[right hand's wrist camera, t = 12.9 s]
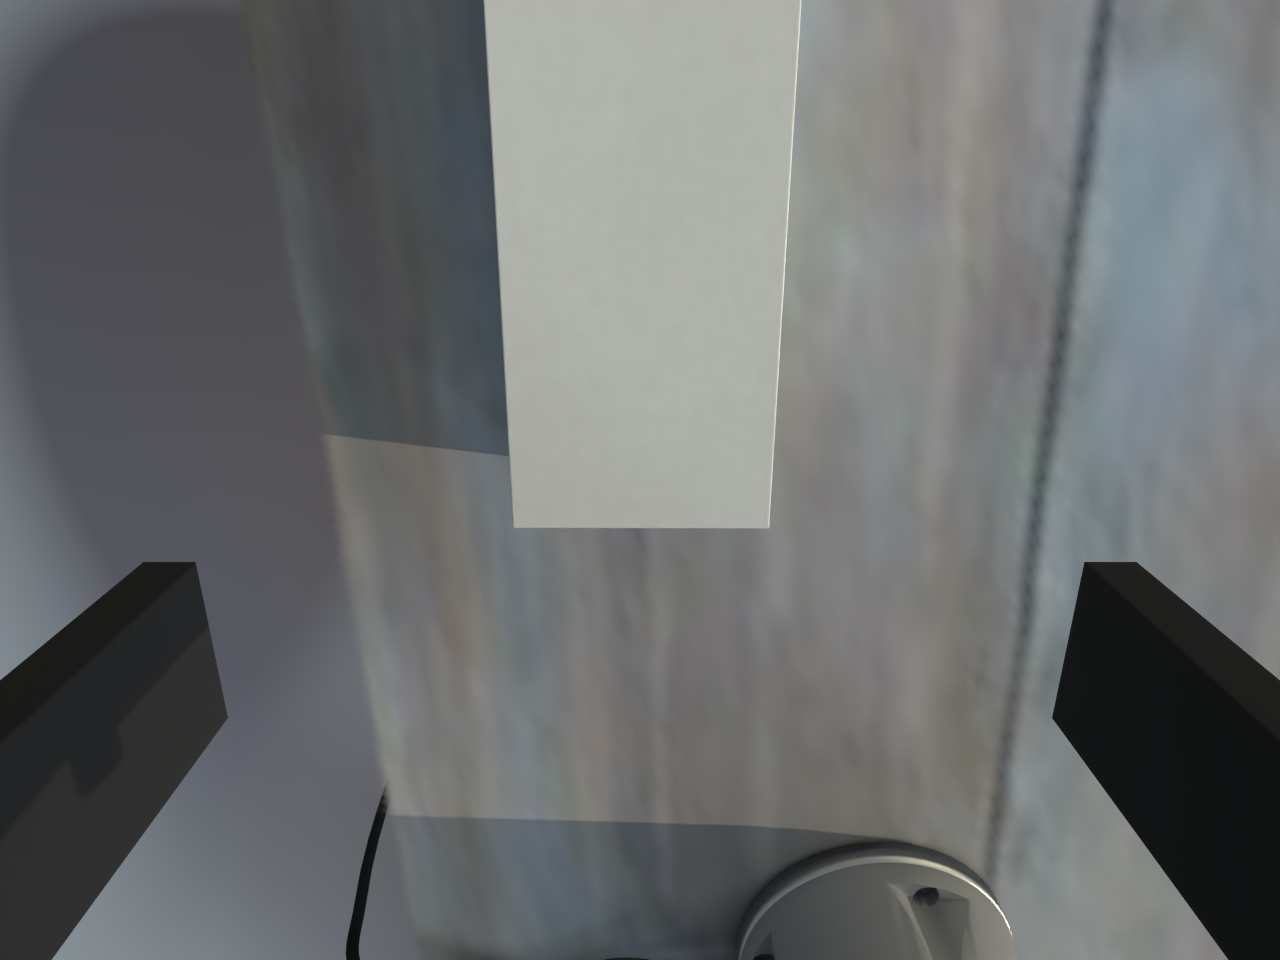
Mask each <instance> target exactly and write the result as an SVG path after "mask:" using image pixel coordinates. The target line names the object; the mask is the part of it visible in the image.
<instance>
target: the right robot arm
mask: <svg viewBox="0 0 1280 960" xmlns="http://www.w3.org/2000/svg"><path fill="white" fill-rule="evenodd" d="M227 718H228V717H227V712H226V707H225V702H224V697H223V693H222V688H221V683H220V678H219V673H218V668H217V664H216V659H215V654H214V649H213V644H212V640H211V635H210V630H209V625H208V620H207V615H206V611H205V606H204V601H203V596H202V591H201V587H200V582H199V577H198V572H197V567H196V563H195V562H143V563H142V564H141V565H140V566H138V567H137V568H136V569H135V570H133V571H132V572H131V573H130V574H129V575H127V576H126V577H125V578H124V579H123V580H121V581H120V582H119V583H118V584H117V585H115V586H114V587H113V588H112V589H111V590H109V591H108V592H107V593H106V594H104V595H103V596H102V597H101V598H100V599H98V600H97V601H96V602H95V603H93V604H92V605H91V606H90V607H89V608H87V609H86V610H85V611H84V612H83V613H81V614H80V615H79V616H78V617H77V618H75V619H74V620H73V621H72V622H70V623H69V624H68V625H67V626H66V627H64V628H63V629H62V630H61V631H60V632H58V633H57V634H56V635H55V636H54V637H52V638H51V639H50V640H49V641H47V642H46V643H45V644H44V645H43V646H41V647H40V648H39V649H38V650H37V651H35V652H34V653H33V654H32V655H30V656H29V657H28V658H27V659H26V660H25V661H23V662H22V663H21V664H20V665H18V666H17V667H16V668H15V669H14V670H12V671H11V672H10V673H9V674H8V675H6V676H5V677H4V678H3V679H1V680H0V960H52V958H53V957H54V956H55V954H56V953H57V951H58V950H59V949H60V947H61V946H62V945H63V943H64V942H65V940H66V939H67V938H68V936H69V935H70V934H71V932H72V931H73V929H74V928H75V927H76V925H77V924H78V923H79V921H80V920H81V919H82V917H83V916H84V914H85V913H86V912H87V910H88V909H89V908H90V906H91V905H92V903H93V902H94V901H95V899H96V898H97V896H98V895H99V894H100V892H101V891H102V890H103V888H104V887H105V886H106V884H107V883H108V881H109V880H110V879H111V877H112V876H113V875H114V873H115V872H116V870H117V869H118V868H119V866H120V865H121V864H122V862H123V861H124V860H125V858H126V857H127V855H128V854H129V853H130V851H131V850H132V848H133V847H134V846H135V844H136V843H137V842H138V840H139V839H140V838H141V836H142V835H143V833H144V832H145V831H146V829H147V828H148V827H149V825H150V824H151V822H152V821H153V820H154V818H155V817H156V816H157V814H158V813H159V812H160V810H161V809H162V807H163V806H164V805H165V803H166V802H167V801H168V799H169V798H170V796H171V795H172V794H173V792H174V791H175V789H176V788H177V787H178V785H179V784H180V783H181V781H182V780H183V779H184V777H185V776H186V774H187V773H188V772H189V770H190V769H191V768H192V766H193V765H194V764H195V762H196V761H197V759H198V758H199V757H200V755H201V754H202V753H203V751H204V750H205V748H206V747H207V746H208V744H209V743H210V742H211V740H212V739H213V737H214V736H215V735H216V733H217V732H218V731H219V729H220V728H221V726H222V725H223V724H224V722H225V721H226V720H227ZM1052 718H1053V720H1054V721H1055V722H1056V724H1057V725H1058V726H1059V728H1060V729H1061V731H1062V732H1063V733H1064V735H1065V736H1066V737H1067V739H1068V740H1069V742H1070V743H1071V744H1072V746H1073V747H1074V748H1075V750H1076V751H1077V753H1078V754H1079V755H1080V757H1081V758H1082V759H1083V761H1084V762H1085V764H1086V765H1087V766H1088V768H1089V769H1090V770H1091V772H1092V773H1093V774H1094V776H1095V777H1096V779H1097V780H1098V781H1099V783H1100V784H1101V785H1102V787H1103V788H1104V790H1105V791H1106V792H1107V794H1108V795H1109V796H1110V798H1111V799H1112V801H1113V802H1114V803H1115V805H1116V806H1117V807H1118V809H1119V810H1120V812H1121V813H1122V814H1123V816H1124V817H1125V818H1126V820H1127V821H1128V822H1129V824H1130V825H1131V827H1132V828H1133V829H1134V831H1135V832H1136V833H1137V835H1138V836H1139V838H1140V839H1141V840H1142V842H1143V843H1144V844H1145V846H1146V847H1147V849H1148V850H1149V851H1150V853H1151V854H1152V855H1153V857H1154V858H1155V860H1156V861H1157V862H1158V864H1159V865H1160V866H1161V868H1162V869H1163V870H1164V872H1165V873H1166V875H1167V876H1168V877H1169V879H1170V880H1171V881H1172V883H1173V884H1174V886H1175V887H1176V888H1177V890H1178V891H1179V892H1180V894H1181V895H1182V897H1183V898H1184V899H1185V901H1186V902H1187V903H1188V905H1189V906H1190V908H1191V909H1192V910H1193V912H1194V913H1195V914H1196V916H1197V917H1198V919H1199V920H1200V921H1201V923H1202V924H1203V925H1204V927H1205V928H1206V929H1207V931H1208V932H1209V934H1210V935H1211V936H1212V938H1213V939H1214V940H1215V942H1216V943H1217V945H1218V946H1219V947H1220V949H1221V950H1222V951H1223V953H1224V954H1225V956H1226V957H1227V958H1228V960H1280V680H1279V679H1277V678H1276V677H1275V676H1274V675H1273V674H1271V673H1270V672H1269V671H1268V670H1266V669H1265V668H1264V667H1263V666H1262V665H1260V664H1259V663H1258V662H1257V661H1256V660H1254V659H1253V658H1252V657H1251V656H1250V655H1248V654H1247V653H1246V652H1245V651H1243V650H1242V649H1241V648H1240V647H1239V646H1237V645H1236V644H1235V643H1234V642H1233V641H1231V640H1230V639H1229V638H1228V637H1227V636H1225V635H1224V634H1223V633H1222V632H1220V631H1219V630H1218V629H1217V628H1216V627H1214V626H1213V625H1212V624H1211V623H1210V622H1208V621H1207V620H1206V619H1205V618H1203V617H1202V616H1201V615H1200V614H1199V613H1197V612H1196V611H1195V610H1194V609H1193V608H1191V607H1190V606H1189V605H1188V604H1187V603H1185V602H1184V601H1183V600H1182V599H1180V598H1179V597H1178V596H1177V595H1176V594H1174V593H1173V592H1172V591H1171V590H1170V589H1168V588H1167V587H1166V586H1165V585H1163V584H1162V583H1161V582H1160V581H1159V580H1157V579H1156V578H1155V577H1154V576H1153V575H1151V574H1150V573H1149V572H1148V571H1147V570H1145V569H1144V568H1143V567H1142V566H1140V565H1139V564H1138V563H1137V562H1084V567H1083V572H1082V577H1081V582H1080V586H1079V591H1078V596H1077V601H1076V606H1075V611H1074V615H1073V620H1072V625H1071V630H1070V635H1069V639H1068V644H1067V649H1066V654H1065V659H1064V664H1063V668H1062V673H1061V678H1060V683H1059V688H1058V693H1057V697H1056V702H1055V707H1054V712H1053V717H1052ZM388 806H389V798H388V795H387V788H386V786H385V788H384V791H383V793H382V796H381V799H380V802H379V805H378V808H377V811H376V815H375V818H374V821H373V825H372V828H371V831H370V834H369V838H368V841H367V846H366V850H365V854H364V858H363V862H362V866H361V870H360V875H359V880H358V886H357V891H356V897H355V902H354V908H353V913H352V918H351V923H350V927H349V932H348V937H347V943H346V960H360V956H359V941H360V934H361V929H362V924H363V919H364V914H365V908H366V902H367V896H368V890H369V884H370V878H371V872H372V867H373V863H374V859H375V854H376V850H377V846H378V841H379V837H380V834H381V830H382V827H383V823H384V820H385V816H386V813H387V809H388ZM606 960H647V959H639V958H612V959H606ZM736 960H1017V955H1016V949H1015V946H1014V942H1013V938H1012V934H1011V931H1010V928H1009V925H1008V923H1007V921H1006V919H1005V917H1004V914H1003V912H1002V910H1001V908H1000V906H999V904H998V902H997V900H996V898H995V896H994V894H993V893H992V891H991V890H990V888H989V887H988V886H987V884H986V883H985V882H984V881H983V880H982V879H981V878H980V877H979V876H978V875H977V874H976V873H975V872H974V871H972V870H971V869H970V868H968V867H967V866H966V865H964V864H962V863H961V862H959V861H957V860H956V859H954V858H952V857H949V856H947V855H945V854H943V853H940V852H937V851H934V850H932V849H928V848H924V847H920V846H915V845H909V844H901V843H864V844H856V845H850V846H845V847H840V848H836V849H833V850H829V851H826V852H823V853H820V854H818V855H815V856H813V857H810V858H808V859H806V860H804V861H802V862H800V863H798V864H796V865H794V866H793V867H791V868H789V869H788V870H786V871H785V872H783V873H782V874H780V875H779V876H778V877H776V878H775V879H774V880H773V881H772V882H770V883H769V884H768V885H767V886H766V887H765V888H764V889H763V890H762V891H761V892H760V893H759V895H758V896H757V897H756V898H755V900H754V901H753V902H752V904H751V905H750V907H749V908H748V910H747V912H746V914H745V916H744V918H743V920H742V922H741V925H740V928H739V931H738V936H737V942H736Z"/></svg>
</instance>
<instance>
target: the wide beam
mask: <svg viewBox="0 0 1280 960" xmlns="http://www.w3.org/2000/svg"><path fill="white" fill-rule="evenodd" d="M483 3H484V21H485V39H486V56H487V74H488V92H489V110H490V127H491V145H492V163H493V181H494V198H495V216H496V234H497V252H498V269H499V287H500V305H501V322H502V340H503V358H504V376H505V393H506V411H507V429H508V447H509V464H510V482H511V500H512V518H513V527H514V528H769V519H770V503H771V487H772V470H773V454H774V438H775V421H776V405H777V389H778V373H779V356H780V340H781V324H782V308H783V291H784V275H785V259H786V242H787V226H788V210H789V194H790V177H791V161H792V145H793V129H794V112H795V96H796V80H797V63H798V47H799V31H800V15H801V0H483Z"/></svg>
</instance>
